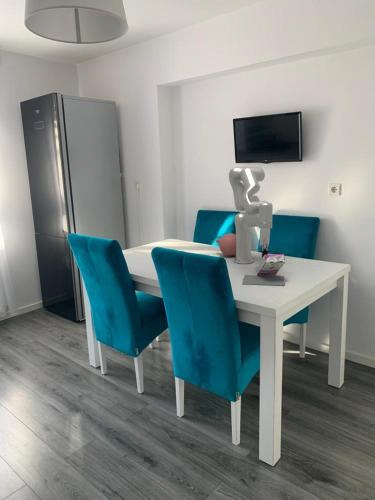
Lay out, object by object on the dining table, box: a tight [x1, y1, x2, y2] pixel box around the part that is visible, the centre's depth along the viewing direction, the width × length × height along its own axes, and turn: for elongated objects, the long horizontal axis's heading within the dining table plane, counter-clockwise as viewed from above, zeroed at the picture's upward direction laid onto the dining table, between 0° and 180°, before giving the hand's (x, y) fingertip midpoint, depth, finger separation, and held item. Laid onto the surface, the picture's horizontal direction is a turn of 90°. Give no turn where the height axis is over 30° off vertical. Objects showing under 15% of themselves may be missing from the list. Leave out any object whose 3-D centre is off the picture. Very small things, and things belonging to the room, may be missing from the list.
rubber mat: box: [241, 274, 286, 287], centre depth 219 cm, size 17×22×1 cm
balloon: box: [215, 233, 236, 257], centre depth 276 cm, size 15×20×15 cm
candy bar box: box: [255, 253, 286, 276], centre depth 222 cm, size 11×5×16 cm
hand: (264, 257), depth 227 cm, fingers closed
